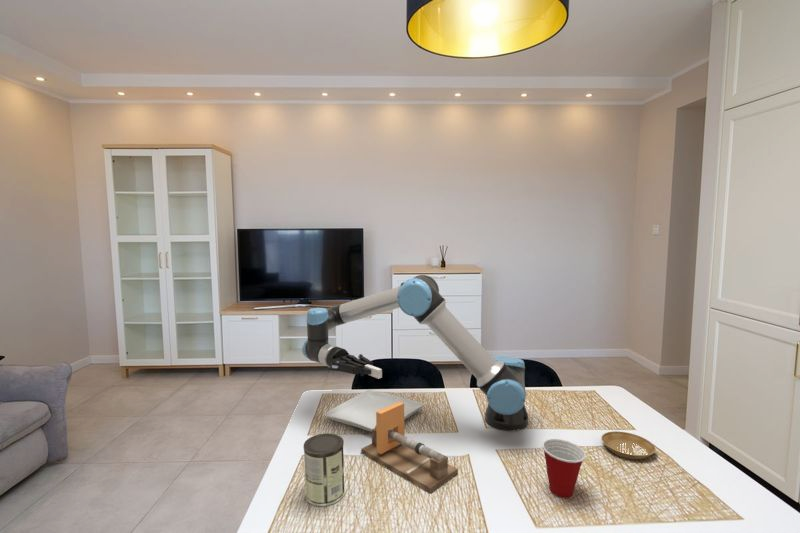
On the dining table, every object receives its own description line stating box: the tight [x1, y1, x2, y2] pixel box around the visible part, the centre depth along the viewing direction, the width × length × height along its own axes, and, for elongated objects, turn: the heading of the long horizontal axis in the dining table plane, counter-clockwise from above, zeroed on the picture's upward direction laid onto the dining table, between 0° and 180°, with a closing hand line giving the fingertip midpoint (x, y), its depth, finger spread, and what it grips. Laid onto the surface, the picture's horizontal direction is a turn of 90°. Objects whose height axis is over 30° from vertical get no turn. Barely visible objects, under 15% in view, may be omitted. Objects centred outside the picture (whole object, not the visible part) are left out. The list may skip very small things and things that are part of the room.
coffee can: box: [303, 432, 346, 507], centre depth 109 cm, size 10×10×14 cm
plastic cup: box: [541, 438, 587, 499], centre depth 109 cm, size 11×11×12 cm
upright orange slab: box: [376, 402, 405, 454], centre depth 127 cm, size 2×10×12 cm, turn 135°
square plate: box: [324, 389, 425, 433], centre depth 154 cm, size 27×27×4 cm
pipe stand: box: [360, 426, 459, 494], centre depth 123 cm, size 28×12×8 cm, turn 46°
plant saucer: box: [601, 430, 656, 461], centre depth 130 cm, size 15×15×3 cm
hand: (380, 373), depth 129 cm, fingers closed
